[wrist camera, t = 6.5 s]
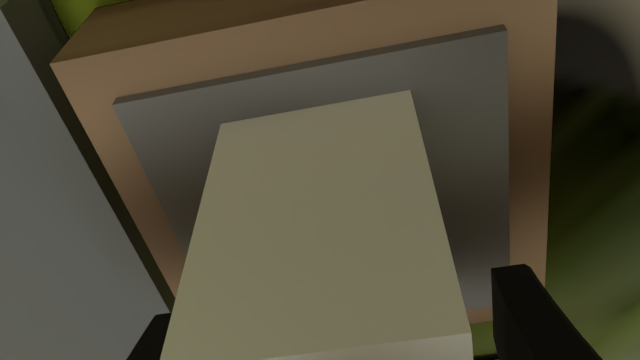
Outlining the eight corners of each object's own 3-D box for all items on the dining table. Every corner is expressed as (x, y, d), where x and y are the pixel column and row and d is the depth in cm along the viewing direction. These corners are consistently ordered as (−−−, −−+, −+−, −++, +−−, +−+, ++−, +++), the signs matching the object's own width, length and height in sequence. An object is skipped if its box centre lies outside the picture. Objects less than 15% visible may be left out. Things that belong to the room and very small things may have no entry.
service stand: (515, 241, 19) (546, 323, 16) (220, 283, 20) (205, 365, 17) (514, -81, 13) (564, -34, 10) (95, 8, 14) (43, 70, 11)
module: (435, 287, 15) (486, 536, 10) (282, 308, 16) (266, 555, 11) (410, 89, 12) (471, 332, 7) (213, 125, 12) (145, 373, 7)
